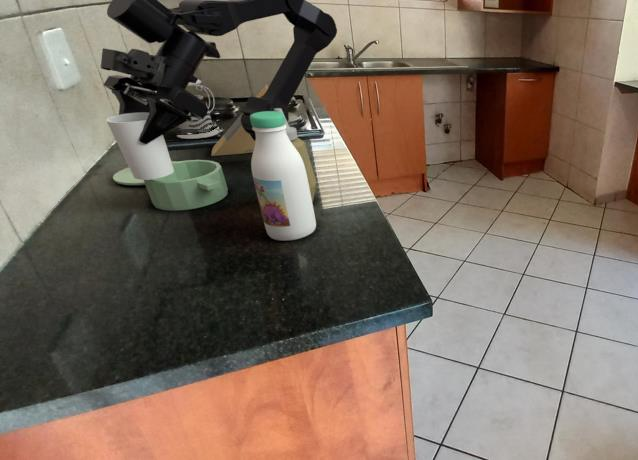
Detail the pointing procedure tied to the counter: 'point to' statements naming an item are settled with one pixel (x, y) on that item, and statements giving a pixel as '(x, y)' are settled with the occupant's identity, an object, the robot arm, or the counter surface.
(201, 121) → the french press
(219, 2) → the robot arm
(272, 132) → the milk bottle
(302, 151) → the squeeze bottle
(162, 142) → the white cup
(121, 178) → the lid
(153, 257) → the counter surface
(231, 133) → the sandwich container
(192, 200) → the pot
